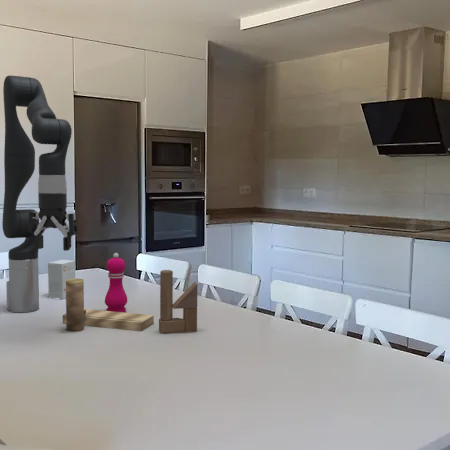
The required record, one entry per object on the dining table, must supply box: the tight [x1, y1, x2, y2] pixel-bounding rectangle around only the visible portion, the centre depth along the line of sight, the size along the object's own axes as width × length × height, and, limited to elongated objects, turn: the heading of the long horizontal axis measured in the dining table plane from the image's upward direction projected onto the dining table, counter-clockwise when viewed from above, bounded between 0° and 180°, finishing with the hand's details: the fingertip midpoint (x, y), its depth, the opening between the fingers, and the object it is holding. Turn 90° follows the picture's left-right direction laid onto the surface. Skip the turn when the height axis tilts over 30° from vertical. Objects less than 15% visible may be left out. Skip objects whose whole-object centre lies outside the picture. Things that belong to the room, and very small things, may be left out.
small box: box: [47, 259, 76, 300], centre depth 207 cm, size 8×6×13 cm
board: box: [62, 308, 155, 332], centre depth 172 cm, size 26×9×3 cm, turn 74°
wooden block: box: [158, 269, 198, 334], centre depth 164 cm, size 4×11×18 cm, turn 105°
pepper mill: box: [104, 252, 128, 313], centre depth 183 cm, size 7×7×20 cm
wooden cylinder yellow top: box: [65, 278, 86, 333], centre depth 166 cm, size 5×8×15 cm, turn 164°
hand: (53, 249), depth 158 cm, fingers open, 8 cm apart
